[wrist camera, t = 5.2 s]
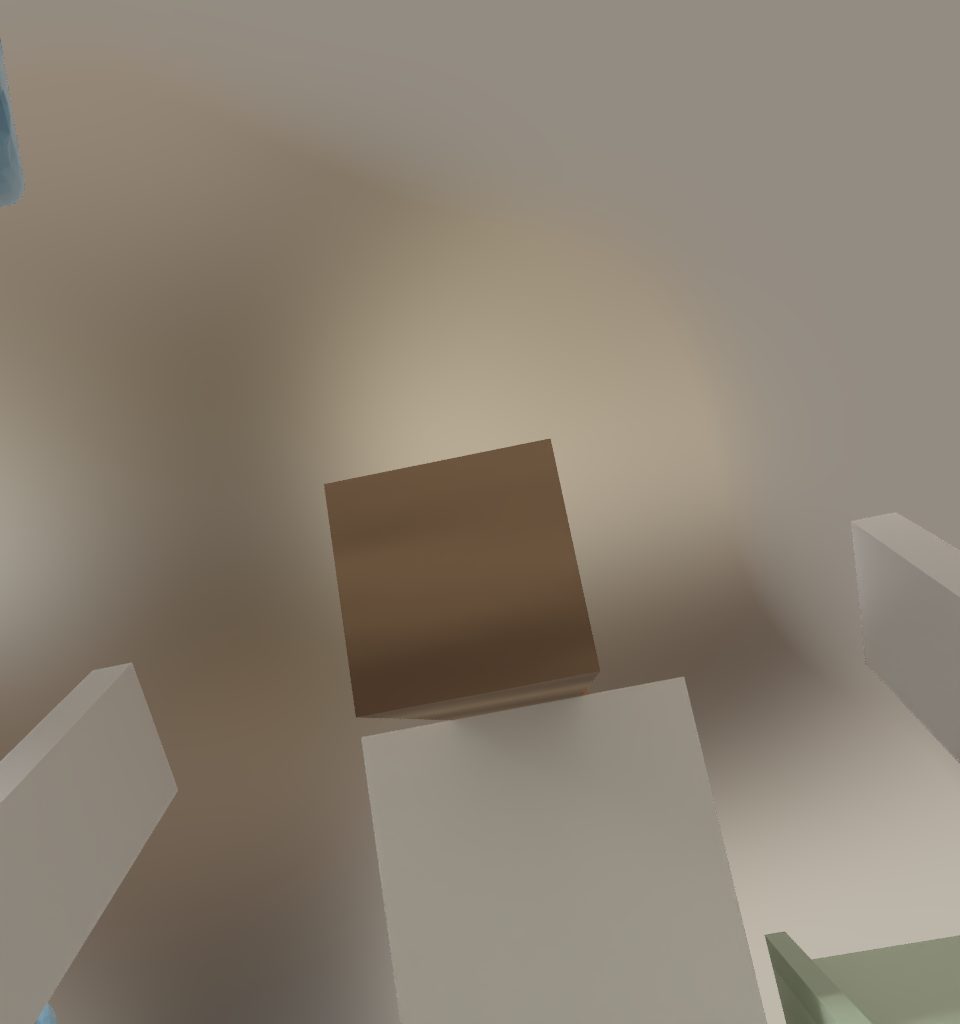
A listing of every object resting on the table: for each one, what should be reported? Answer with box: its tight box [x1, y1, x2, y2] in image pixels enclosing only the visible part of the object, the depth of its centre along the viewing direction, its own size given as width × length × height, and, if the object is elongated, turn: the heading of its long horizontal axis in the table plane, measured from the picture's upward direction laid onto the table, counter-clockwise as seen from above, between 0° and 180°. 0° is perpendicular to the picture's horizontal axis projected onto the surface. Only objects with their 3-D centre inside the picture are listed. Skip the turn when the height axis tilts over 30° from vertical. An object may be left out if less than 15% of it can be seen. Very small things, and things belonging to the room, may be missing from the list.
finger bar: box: [324, 439, 600, 720], centre depth 27 cm, size 26×5×6 cm, turn 174°
